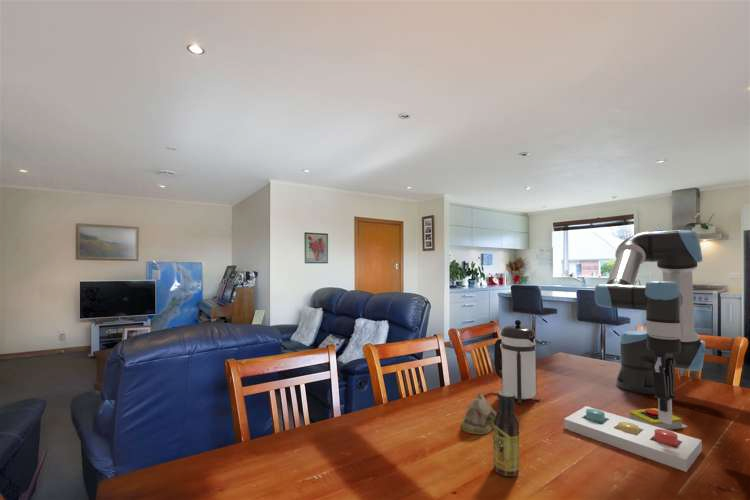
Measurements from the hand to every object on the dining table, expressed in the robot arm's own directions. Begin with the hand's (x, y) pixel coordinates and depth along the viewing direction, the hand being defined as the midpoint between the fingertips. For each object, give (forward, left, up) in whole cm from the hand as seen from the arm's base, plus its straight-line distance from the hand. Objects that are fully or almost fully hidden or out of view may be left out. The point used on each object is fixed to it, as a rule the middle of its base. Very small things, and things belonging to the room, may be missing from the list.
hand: (665, 422), depth 101 cm
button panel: (0, -9, -8) cm, 12 cm away
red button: (0, 0, -7) cm, 7 cm away
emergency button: (-19, -7, -9) cm, 22 cm away
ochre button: (0, -9, -8) cm, 12 cm away
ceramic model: (+27, -42, -9) cm, 51 cm away
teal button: (0, -18, -7) cm, 19 cm away
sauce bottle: (+43, -22, -8) cm, 49 cm away
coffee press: (-4, -48, -8) cm, 49 cm away
